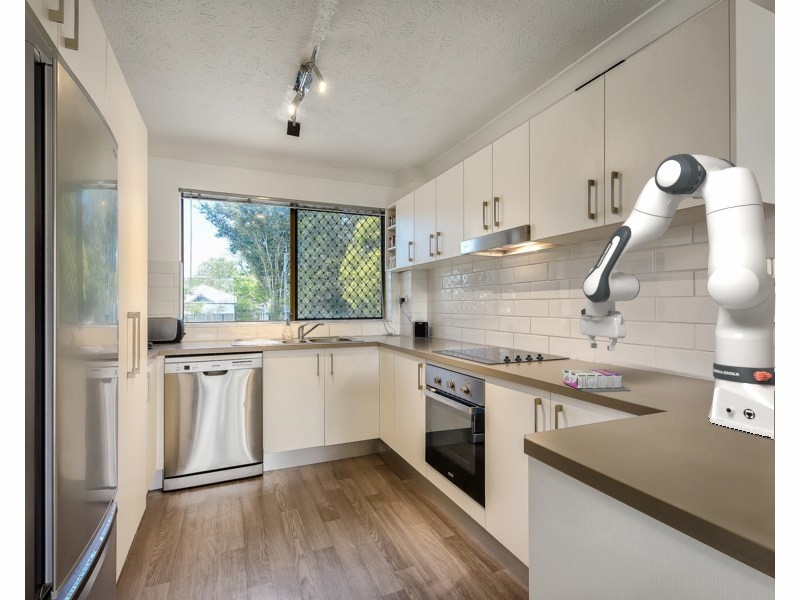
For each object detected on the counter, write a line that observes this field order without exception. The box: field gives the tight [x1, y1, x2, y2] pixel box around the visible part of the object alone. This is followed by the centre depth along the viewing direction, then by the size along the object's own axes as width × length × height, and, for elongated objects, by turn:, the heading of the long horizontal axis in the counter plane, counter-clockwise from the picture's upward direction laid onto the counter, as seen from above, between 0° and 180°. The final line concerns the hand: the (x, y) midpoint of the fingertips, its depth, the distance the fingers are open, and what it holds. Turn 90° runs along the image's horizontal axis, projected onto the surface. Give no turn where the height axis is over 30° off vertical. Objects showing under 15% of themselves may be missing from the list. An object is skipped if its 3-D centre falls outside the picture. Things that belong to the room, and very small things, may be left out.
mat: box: [565, 383, 631, 393], centre depth 141 cm, size 14×16×1 cm
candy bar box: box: [562, 369, 623, 389], centre depth 143 cm, size 11×5×16 cm
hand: (602, 349), depth 141 cm, fingers open, 8 cm apart
